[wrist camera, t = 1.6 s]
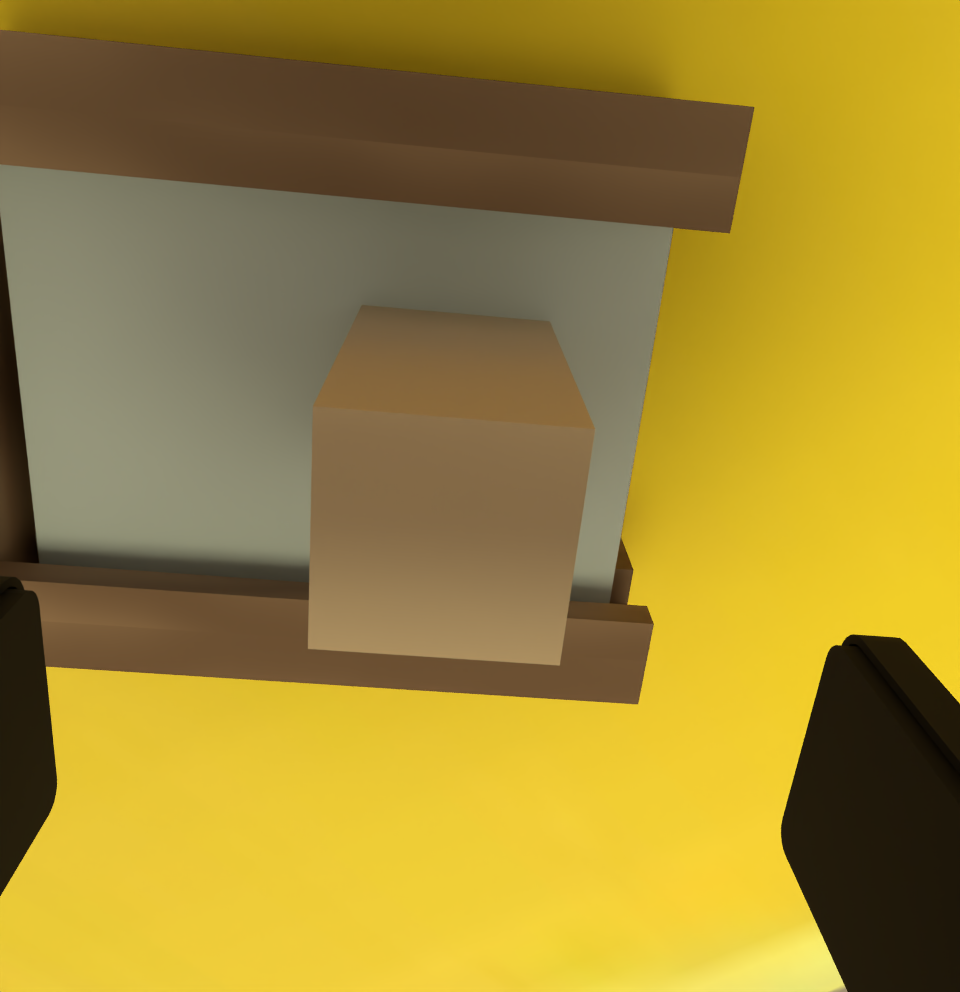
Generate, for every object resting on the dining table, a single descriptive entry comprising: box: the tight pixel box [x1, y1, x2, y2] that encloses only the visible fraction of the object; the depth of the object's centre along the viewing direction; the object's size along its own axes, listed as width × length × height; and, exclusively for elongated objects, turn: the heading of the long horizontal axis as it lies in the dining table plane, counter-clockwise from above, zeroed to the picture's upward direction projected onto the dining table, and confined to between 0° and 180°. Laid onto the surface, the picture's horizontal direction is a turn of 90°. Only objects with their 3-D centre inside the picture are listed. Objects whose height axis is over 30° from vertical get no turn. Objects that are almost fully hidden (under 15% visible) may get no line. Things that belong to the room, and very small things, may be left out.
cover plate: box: [0, 164, 673, 666], centre depth 17 cm, size 10×14×8 cm
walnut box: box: [0, 30, 754, 704], centre depth 21 cm, size 13×16×7 cm
